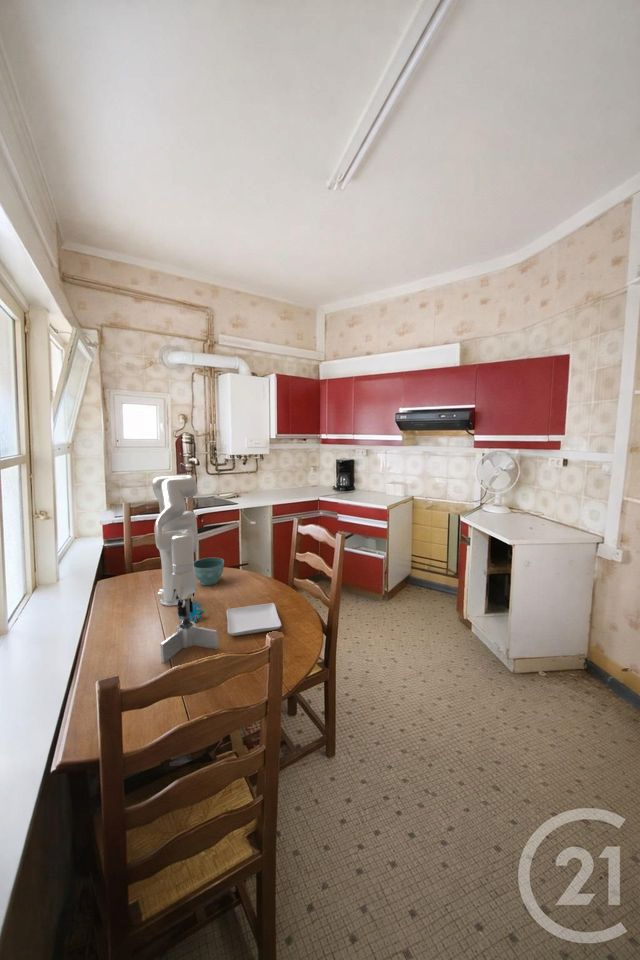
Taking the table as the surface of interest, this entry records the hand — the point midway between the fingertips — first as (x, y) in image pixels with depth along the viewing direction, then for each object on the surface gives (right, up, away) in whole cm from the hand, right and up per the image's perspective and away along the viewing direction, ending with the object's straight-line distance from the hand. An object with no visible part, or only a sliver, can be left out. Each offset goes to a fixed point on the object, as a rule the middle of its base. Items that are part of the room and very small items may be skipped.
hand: (185, 613), depth 142 cm
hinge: (+3, -13, -5) cm, 14 cm away
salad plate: (+22, -10, +16) cm, 30 cm away
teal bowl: (-9, -5, +60) cm, 60 cm away
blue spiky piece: (-4, -10, +19) cm, 22 cm away
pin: (0, -4, 0) cm, 4 cm away
